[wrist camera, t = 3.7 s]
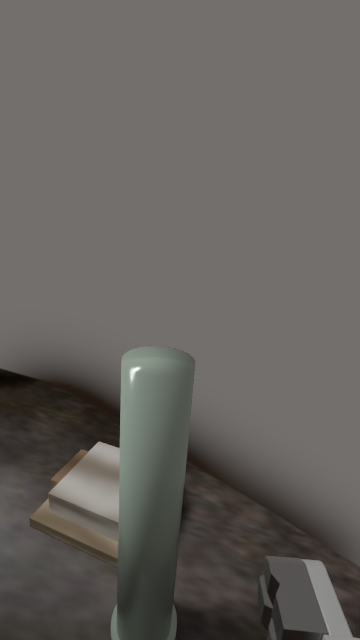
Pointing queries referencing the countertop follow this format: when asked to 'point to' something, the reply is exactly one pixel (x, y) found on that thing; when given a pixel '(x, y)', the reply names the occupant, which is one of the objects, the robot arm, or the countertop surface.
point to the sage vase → (151, 489)
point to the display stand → (85, 503)
